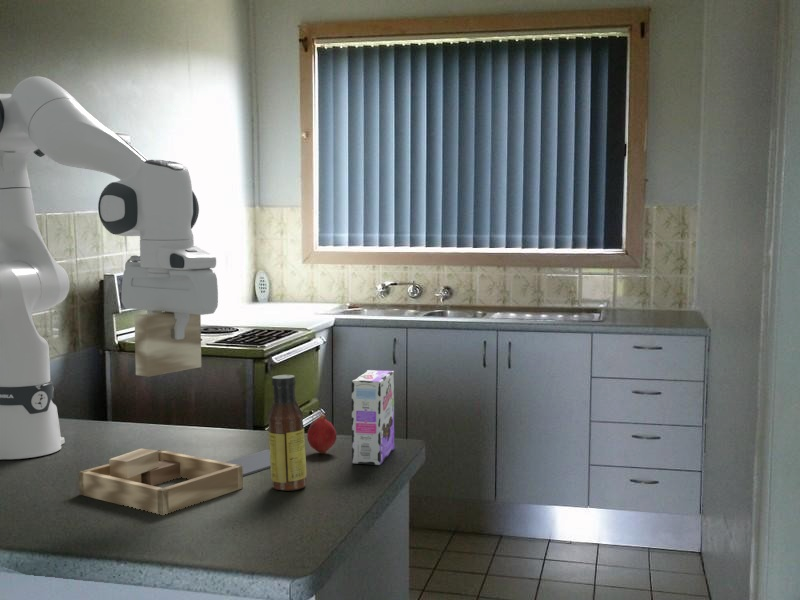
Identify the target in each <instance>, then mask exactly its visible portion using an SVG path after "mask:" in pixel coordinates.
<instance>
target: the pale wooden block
mask: <svg viewBox="0 0 800 600" xmlns="http://www.w3.org/2000/svg"><path fill="white" fill-rule="evenodd" d="M189 317H190V319H189V321H188V323H187V325H186V327H185V328H184V332H185V337H184V339H179V340H178V339H172V338H171V329H173V328H174V327H175V324H176V321H177V319H175V317H174V313H173V312H158V313H150V314H147V313H143V314H142V313H140V314H134V317H133V318H134V352H135V358H134V359H135V360H134V361H135V375H136V376H142V377H148V378H149V377H153V376H159V375H164V374H170V373H175V372H183V371H187V370H193V369H197V368H202V330H201V329H202V328H201V327H202V325H201V324H202V323H201V321H202V319H201V317H202V315H196V314H189Z"/></svg>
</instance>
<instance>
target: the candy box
mask: <svg viewBox="0 0 800 600" xmlns="http://www.w3.org/2000/svg"><path fill="white" fill-rule="evenodd" d="M394 374H395V371H394V370H376V369H375V370H373V369H367V370H366V371H365V372H364V373H362V374H361V375H359V376H357V378H355V379H353V380H351V464H358V465H371V466H372V465H374V466H380V465H381V464H383V462H384V461H385V460H386V459H387V458H388V457H389V455H390V454H391V453H392V452H393V450H394V449H395V378H394V377H395V375H394Z"/></svg>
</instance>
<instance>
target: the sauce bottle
mask: <svg viewBox="0 0 800 600" xmlns="http://www.w3.org/2000/svg"><path fill="white" fill-rule="evenodd" d="M271 384H272V388H273V403H272V405H271V407H270V408H269V409H270V410H269V411H268V416H267V418H268V443H269V444H268V445H269V446H268V447H269V450H270V465H271V468H270V479H271V484H272V487H273V488H274V489H275V490H277V491H284V492H285V491H286V492H290V491H298V490H301V489H304V488H305V487H306V485H307V476H308V475H307V460H306V459H307V458H306V457H307V456H306V441H305V439H306V438H305V427H304V422H303V420H304V419H303V411H302V410H301V408H300V407H299V404H298V402H297V400H296V392H295V391H296V390H295V389H296V387H295V386H296V376H295V375H294V374H279V375H274V376H271Z"/></svg>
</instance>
